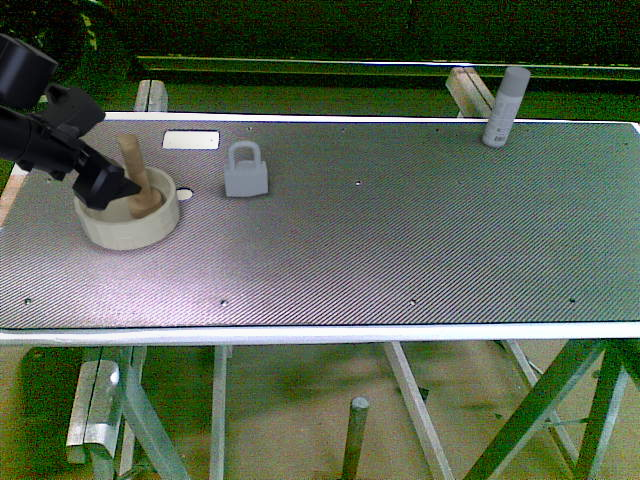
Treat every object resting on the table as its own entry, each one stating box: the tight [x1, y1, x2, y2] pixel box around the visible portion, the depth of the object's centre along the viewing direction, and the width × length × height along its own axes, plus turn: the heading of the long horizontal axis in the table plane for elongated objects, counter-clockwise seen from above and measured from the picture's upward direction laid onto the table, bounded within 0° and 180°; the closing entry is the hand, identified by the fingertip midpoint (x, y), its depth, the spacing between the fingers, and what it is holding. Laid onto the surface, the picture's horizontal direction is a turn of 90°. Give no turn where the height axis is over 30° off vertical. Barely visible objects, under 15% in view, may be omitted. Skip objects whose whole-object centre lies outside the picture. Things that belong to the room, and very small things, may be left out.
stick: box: [117, 132, 163, 219], centre depth 72 cm, size 5×5×13 cm
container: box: [481, 65, 532, 149], centre depth 93 cm, size 5×5×15 cm
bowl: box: [73, 165, 181, 251], centre depth 74 cm, size 14×14×6 cm
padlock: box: [222, 139, 269, 198], centre depth 79 cm, size 7×4×10 cm, turn 102°
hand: (123, 175), depth 70 cm, fingers open, 9 cm apart
